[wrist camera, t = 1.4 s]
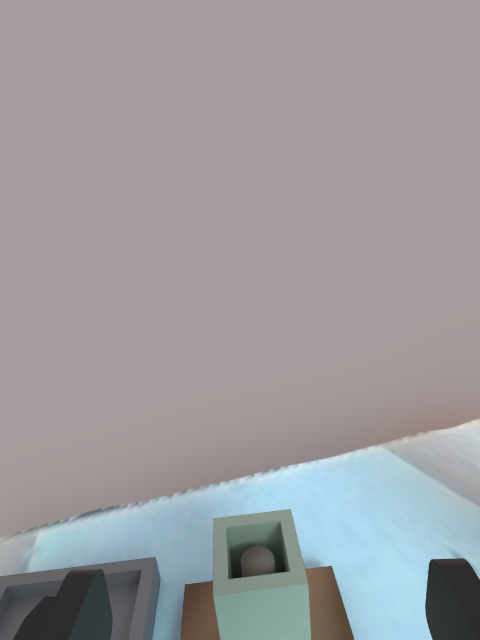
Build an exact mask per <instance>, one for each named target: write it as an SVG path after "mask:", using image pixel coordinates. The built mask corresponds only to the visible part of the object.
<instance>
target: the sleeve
mask: <svg viewBox="0 0 480 640" xmlns="http://www.w3.org/2000/svg"><path fill="white" fill-rule="evenodd" d="M253 546H263V547H266V548H268V549H269V550H270V551H271V552H272V554H273V556H274V561H275V572H276V573H275V574H267V575H259V576H251V577H242V569H241V557H242V555H243V553H244V552H245V551H246V550H247V549H248V548H250V547H253ZM213 598H214V604H215V610H216V616H217V622H218V628H219V634H220V640H311V627H310V608H309V588H308V581H307V576H306V572H305V568H304V564H303V559H302V555H301V551H300V546H299V542H298V538H297V534H296V529H295V525H294V521H293V517H292V512H291V509H288V510H280V511H272V512H263V513H255V514H247V515H239V516H231V517H223V518H215V519H214V532H213Z"/></svg>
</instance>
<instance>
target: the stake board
mask: <svg viewBox="0 0 480 640" xmlns="http://www.w3.org/2000/svg"><path fill="white" fill-rule="evenodd" d="M241 569H242V577H251V576H259V575H267V574H275V573H276V572H275V561H274V556H273V554H272V552H271V551H270V550H269V549H268V548H266V547H263V546H253V547H250V548H248V549H247V550H246V551H245V552H244V553H243V555H242V557H241ZM305 572H306V576H307V581H308V588H309V608H310V627H311V640H354V637H353V634H352V631H351V627H350V624H349V621H348V618H347V614H346V611H345V608H344V605H343V601H342V598H341V595H340V592H339V588H338V585H337V582H336V579H335V575H334V572H333V569H332V566H328V567H320V568H312V569H305ZM181 640H220V634H219V628H218V622H217V616H216V610H215V604H214V598H213V581H210V582H202V583H194V584H186V585H185V592H184V605H183V619H182V632H181Z"/></svg>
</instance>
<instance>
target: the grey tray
mask: <svg viewBox="0 0 480 640" xmlns="http://www.w3.org/2000/svg"><path fill="white" fill-rule="evenodd" d="M82 569H102V570H103V572H104V575H105V579H106V584H107V589H108V594H109V599H110V604H111V609H112V615H113V625H112V633H111V639H110V640H152V635H153V628H154V621H155V614H156V607H157V600H158V592H159V585H160V574H159V570H158V565H157V561H156V557H152V558H144V559H136V560H128V561H120V562H112V563H104V564H96V565H88V566H80V567H72V568H64V569H56V570H48V571H40V572H32V573H24V574H16V575H8V576H1V577H0V640H13V638H14V637H15V635H16V633H17V631H18V629H19V627H20V626H21V624H22V622H23V620H24V618H25V617H26V616H27V615H28V614H29V613H30V612H31V611H32V610H33V609H34V608H35V606H36V605H37V604H38V603H39V602H40V601H41V600H42V599H43V598H44V597H47V596H56V595H57V593H58V591H59V589H60V587H61V585H62V583H63V581H64V579H65V577H66V575H67V574H68V572H69V571H71V570H82Z"/></svg>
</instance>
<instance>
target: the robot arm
mask: <svg viewBox="0 0 480 640" xmlns="http://www.w3.org/2000/svg"><path fill="white" fill-rule="evenodd" d="M425 609H426V618H427V623H428V627H429V630H430V633H431V636H432V639H433V640H480V579H479V578H478V576H477V575H476V573H475V571H474V570H473V568H472V567H471V565H470V564H469V563H468V561H466V560H465V559H462V558H461V559H432V560H431V561H430V563H429V571H428V582H427V593H426V604H425ZM112 625H113V615H112V609H111V604H110V599H109V594H108V589H107V584H106V579H105V575H104V572H103V570H102V569H82V570H71V571H69V572H68V574H67V575H66V577H65V579H64V581H63V583H62V585H61V587H60V589H59V591H58V593H57V595H56V596H47V597H44V598H43V599H42V600H41V601H40V602H39V603H38V604H37V605H36V606H35V608H34V609H33V610H32V611H31V612H30V613H29V614H28V615H27V616H26V617H25V618H24V620H23V622H22V624H21V626H20V627H19V629H18V631H17V633H16V635H15V637H14V638H13V640H110V639H111V633H112Z"/></svg>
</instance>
